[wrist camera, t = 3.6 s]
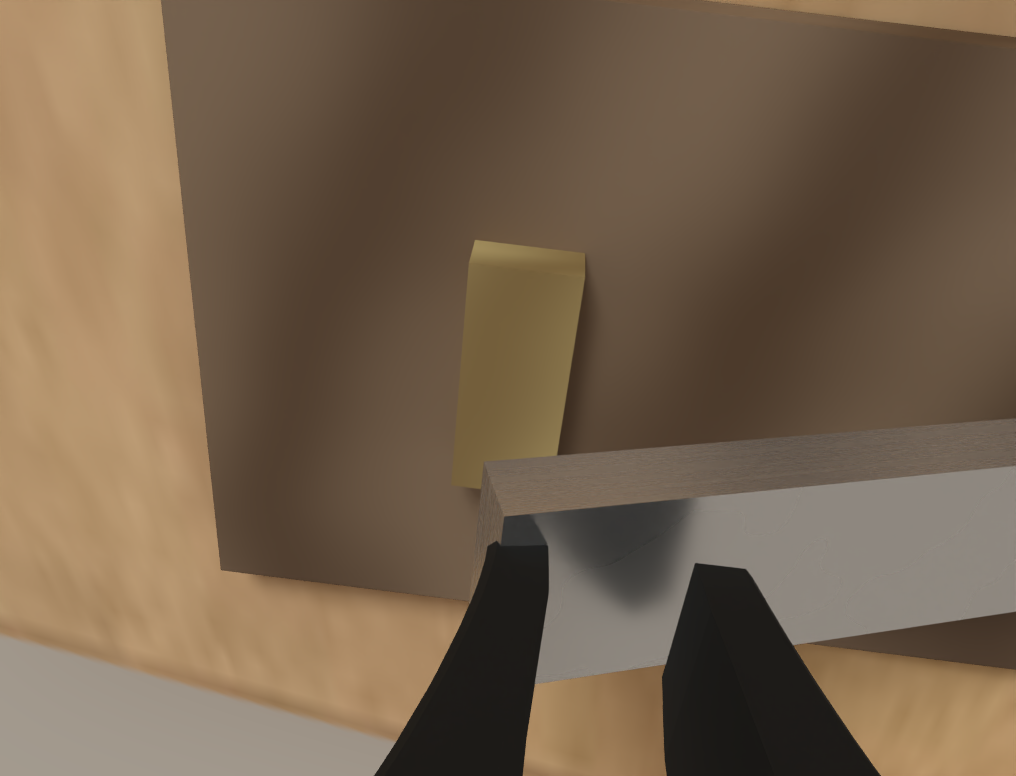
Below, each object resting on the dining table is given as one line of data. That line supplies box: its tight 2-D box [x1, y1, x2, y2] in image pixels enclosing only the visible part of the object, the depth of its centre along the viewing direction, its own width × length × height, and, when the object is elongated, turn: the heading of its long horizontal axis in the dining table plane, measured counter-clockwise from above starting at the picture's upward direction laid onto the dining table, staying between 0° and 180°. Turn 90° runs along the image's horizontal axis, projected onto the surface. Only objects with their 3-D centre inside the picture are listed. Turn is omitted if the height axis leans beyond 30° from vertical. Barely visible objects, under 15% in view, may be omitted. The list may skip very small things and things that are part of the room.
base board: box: [161, 0, 1016, 670], centre depth 15 cm, size 20×12×4 cm, turn 84°
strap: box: [469, 418, 1016, 684], centre depth 13 cm, size 13×3×1 cm, turn 84°
